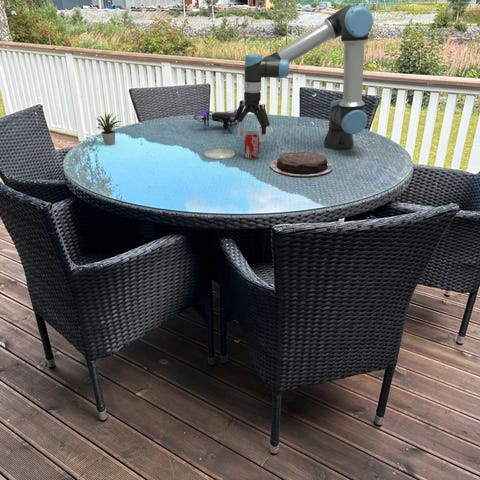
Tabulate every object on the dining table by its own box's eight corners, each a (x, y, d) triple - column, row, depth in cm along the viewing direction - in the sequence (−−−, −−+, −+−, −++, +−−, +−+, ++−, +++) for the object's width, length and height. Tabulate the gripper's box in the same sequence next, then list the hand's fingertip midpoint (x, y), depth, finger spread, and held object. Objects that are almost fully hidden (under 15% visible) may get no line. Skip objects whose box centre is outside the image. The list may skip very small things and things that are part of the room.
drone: (237, 121, 245) (186, 119, 248) (237, 139, 249) (187, 137, 253) (246, 106, 280) (201, 105, 283) (246, 122, 285) (201, 120, 288)
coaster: (241, 154, 223) (241, 153, 223) (218, 161, 214) (218, 159, 214) (220, 148, 233) (220, 147, 232) (197, 154, 223) (197, 153, 223)
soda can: (248, 160, 215) (249, 135, 210) (241, 156, 221) (241, 131, 215) (261, 158, 218) (262, 133, 213) (254, 154, 224) (255, 129, 218)
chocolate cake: (259, 163, 213) (260, 149, 210) (311, 156, 223) (312, 142, 220) (288, 182, 190) (289, 167, 187) (345, 173, 200) (346, 159, 197)
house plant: (106, 150, 230) (101, 117, 223) (89, 145, 238) (84, 113, 230) (128, 143, 240) (124, 112, 233) (111, 139, 248) (107, 108, 240)
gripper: (227, 88, 211) (227, 134, 221) (267, 96, 195) (265, 145, 205) (238, 87, 216) (238, 132, 225) (279, 94, 200) (276, 142, 210)
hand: (251, 138), depth 215 cm, fingers open, 13 cm apart
